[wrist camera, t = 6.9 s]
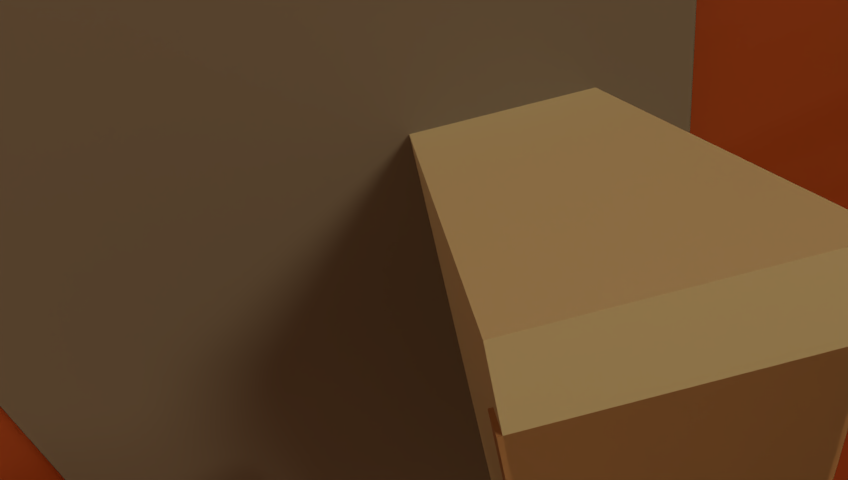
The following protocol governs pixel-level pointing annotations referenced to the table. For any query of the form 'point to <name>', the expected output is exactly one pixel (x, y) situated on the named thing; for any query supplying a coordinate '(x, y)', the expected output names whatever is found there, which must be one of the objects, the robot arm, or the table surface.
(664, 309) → the block
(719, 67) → the table surface
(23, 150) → the mat
